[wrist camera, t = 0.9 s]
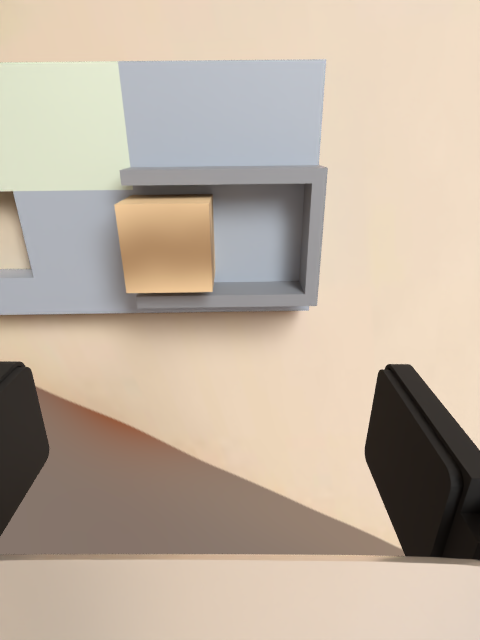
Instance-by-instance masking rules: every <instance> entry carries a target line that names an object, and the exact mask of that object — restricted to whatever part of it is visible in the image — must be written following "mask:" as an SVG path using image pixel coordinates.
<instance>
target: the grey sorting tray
mask: <svg viewBox="0 0 480 640" xmlns="http://www.w3.org/2000/svg"><path fill="white" fill-rule="evenodd" d="M325 68H326V60H216V61H105V62H0V191H13V194H14V198H15V202H16V207H17V211H18V215H19V219H20V223H21V227H22V231H23V236H24V240H25V244H26V248H27V252H28V256H29V260H30V264H31V269H1V270H0V315H26V314H95V313H164V312H234V311H303V310H309V306H317V298H318V285H319V272H320V259H321V247H322V234H323V221H324V209H325V196H326V183H327V170H328V168H326V167H323V166H320V165H319V154H320V140H321V126H322V111H323V97H324V82H325ZM163 194H213V218H214V245H215V278H214V285H213V292H178V293H126V285H125V278H124V271H123V264H122V257H121V250H120V243H119V235H118V228H117V221H116V214H115V207H114V204H116V203H118V202H120V201H122V200H124V199H125V198H127V197H129V196H131V195H163Z"/></svg>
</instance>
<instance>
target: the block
mask: <svg viewBox="0 0 480 640" xmlns="http://www.w3.org/2000/svg"><path fill="white" fill-rule="evenodd" d="M114 207H115V214H116V221H117V228H118V235H119V243H120V250H121V257H122V264H123V271H124V278H125V285H126V293H178V292H213V285H214V278H215V245H214V218H213V194H163V195H131V196H129V197H127V198H125V199H124V200H122V201H120V202H118V203H116V204H114Z"/></svg>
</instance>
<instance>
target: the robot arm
mask: <svg viewBox="0 0 480 640" xmlns="http://www.w3.org/2000/svg"><path fill="white" fill-rule="evenodd" d="M48 455H49V444H48V439H47V435H46V431H45V427H44V422H43V418H42V414H41V410H40V405H39V401H38V396H37V392H36V388H35V383H34V379H33V375H32V371H31V369H30V368H28V367H25V365H24V364H23V363H22V362H0V536H1V534H2V533H3V531H4V529H5V528H6V526H7V525H8V523H9V521H10V520H11V518H12V516H13V515H14V513H15V511H16V510H17V508H18V506H19V505H20V503H21V502H22V500H23V498H24V497H25V495H26V493H27V492H28V490H29V488H30V487H31V485H32V484H33V482H34V480H35V479H36V477H37V475H38V474H39V472H40V470H41V469H42V467H43V466H44V463H45V462H46V460H47V458H48ZM365 458H366V462H367V464H368V467H369V469H370V472H371V474H372V476H373V479H374V481H375V484H376V486H377V488H378V491H379V493H380V496H381V498H382V501H383V503H384V505H385V508H386V510H387V513H388V515H389V517H390V520H391V522H392V525H393V527H394V530H395V532H396V534H397V537H398V539H399V542H400V544H401V546H402V549H403V551H404V554H405V556H371V555H370V556H369V555H262V554H259V555H258V554H255V555H254V554H253V555H252V554H13V555H12V554H11V555H9V554H8V555H7V554H5V555H4V554H3V555H0V640H480V450H479V449H478V448H477V446H476V445H475V444H474V443H473V441H472V440H471V439H470V438H469V437H468V435H467V434H466V433H465V432H464V430H463V429H462V428H461V427H460V425H459V424H458V423H457V422H456V420H455V419H454V418H453V417H452V415H451V414H450V413H449V412H448V410H447V409H446V408H445V407H444V405H443V404H442V403H441V402H440V400H439V399H438V398H437V397H436V396H435V394H434V393H433V392H432V391H431V389H430V388H429V387H428V386H427V384H426V383H425V382H424V381H423V379H422V378H421V377H420V376H419V374H418V373H417V372H416V371H415V369H414V368H413V367H412V366H411V365H408V364H388V365H387V366H386V367H385V370H380V371H379V373H378V377H377V383H376V388H375V394H374V399H373V405H372V411H371V416H370V422H369V428H368V433H367V439H366V444H365Z"/></svg>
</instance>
